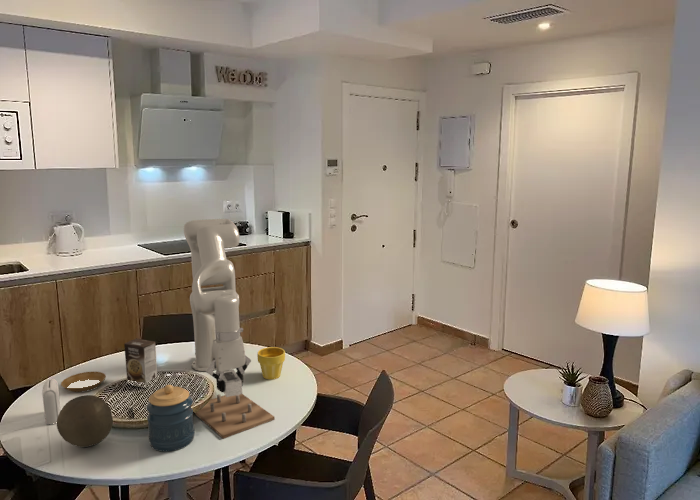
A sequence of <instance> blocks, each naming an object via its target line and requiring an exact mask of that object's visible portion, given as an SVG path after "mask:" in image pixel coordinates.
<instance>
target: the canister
mask: <svg viewBox="0 0 700 500" xmlns="http://www.w3.org/2000/svg"><path fill="white" fill-rule="evenodd" d="M148 401H149V403H148V402H147V403H148V404H147V406H146V409H147V411H148V412H149V414H148V416H146V420H147V423H148V425H147V426H148V427H147V428H148V442H149V446H150V447H151V448H152V449H153V450H156V451H158V452H173V451H177V450H180V449H183V448H185V447H186V446H187V447H188V445H190V444H191V443H193V440H194V438H195V434H196V433H195V426H194V413H193V409H192V408H191V406H193V402H194V401H193V398H192V397H191V396H190V392H189V391H188V390H187V389H186V388H183V387H181V386H173V385H172V384H166V385H165V386H164V387H161V388H159V389H157V390H155V392H153V393H151V395H150V396H149V397H148Z"/></svg>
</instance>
